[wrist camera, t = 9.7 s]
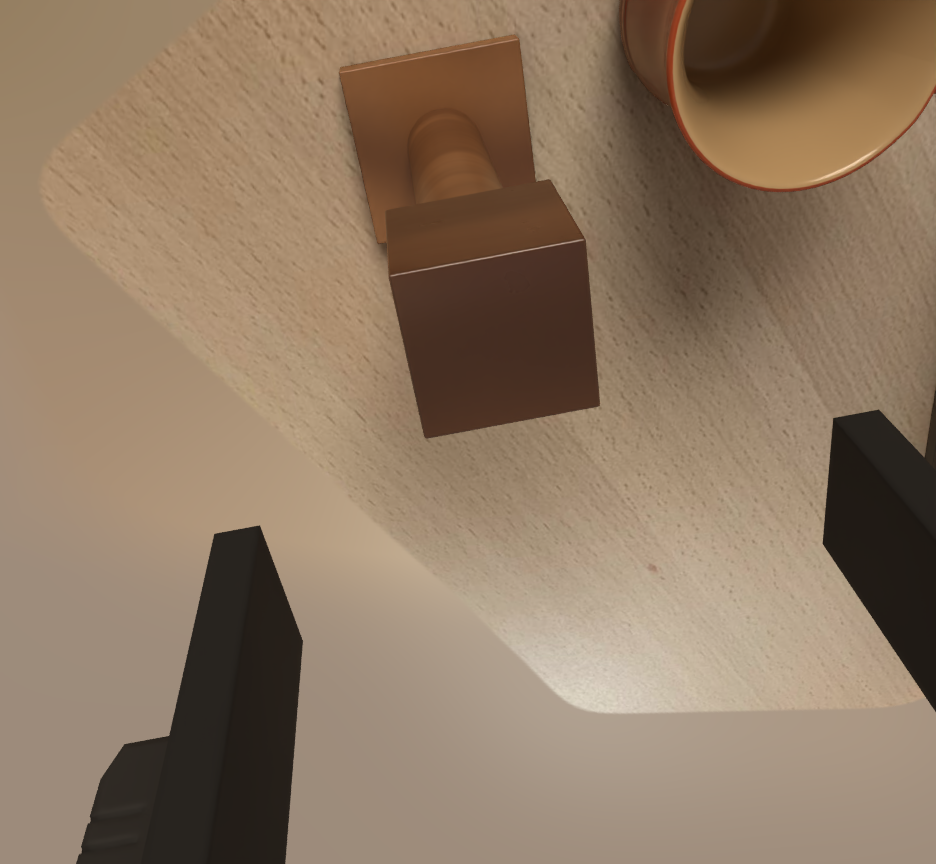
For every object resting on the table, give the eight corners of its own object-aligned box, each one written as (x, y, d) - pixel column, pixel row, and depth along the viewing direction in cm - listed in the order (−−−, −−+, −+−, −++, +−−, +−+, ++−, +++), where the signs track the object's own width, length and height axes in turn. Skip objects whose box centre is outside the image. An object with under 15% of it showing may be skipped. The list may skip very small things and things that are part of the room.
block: (384, 209, 24) (387, 275, 20) (550, 178, 24) (586, 238, 20) (415, 356, 26) (425, 440, 22) (566, 328, 26) (600, 406, 22)
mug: (571, 102, 36) (635, 176, 28) (621, -152, 32) (718, -158, 23) (840, 137, 38) (979, 218, 29) (924, -97, 33) (1118, -83, 25)
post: (339, 67, 35) (326, 172, 23) (515, 33, 35) (593, 122, 23) (377, 236, 38) (383, 399, 27) (535, 206, 38) (611, 357, 27)
